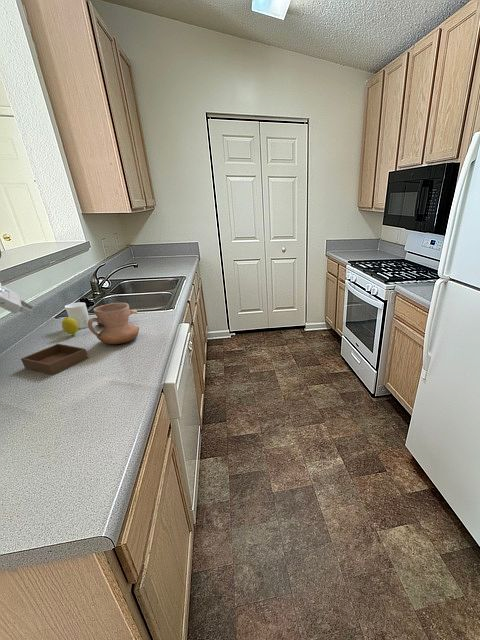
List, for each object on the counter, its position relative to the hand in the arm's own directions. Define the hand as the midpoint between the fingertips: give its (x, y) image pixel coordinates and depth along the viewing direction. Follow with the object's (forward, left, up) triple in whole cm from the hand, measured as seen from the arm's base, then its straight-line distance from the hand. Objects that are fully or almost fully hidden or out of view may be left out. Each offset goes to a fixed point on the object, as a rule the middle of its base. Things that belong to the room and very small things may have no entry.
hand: (32, 310), depth 130 cm
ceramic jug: (+30, +10, -13) cm, 34 cm away
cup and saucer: (+11, +24, -13) cm, 30 cm away
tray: (+25, -12, -13) cm, 30 cm away
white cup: (0, +17, -13) cm, 22 cm away
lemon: (+6, +8, -13) cm, 17 cm away
